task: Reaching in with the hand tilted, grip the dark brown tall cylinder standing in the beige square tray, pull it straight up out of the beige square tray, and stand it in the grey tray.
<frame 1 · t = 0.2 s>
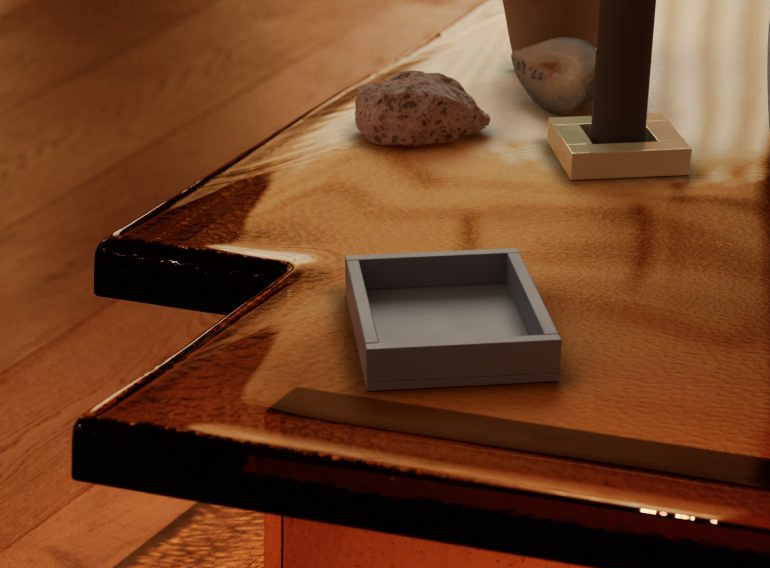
beige square tray: (616, 158, 120), on the table
seashell: (553, 107, 132), on the table
dark brown tall cylinder: (623, 58, 116), in the beige square tray
rock: (415, 132, 127), on the table
grey tray: (446, 335, 93), on the table
flower pot: (551, 70, 142), on the table
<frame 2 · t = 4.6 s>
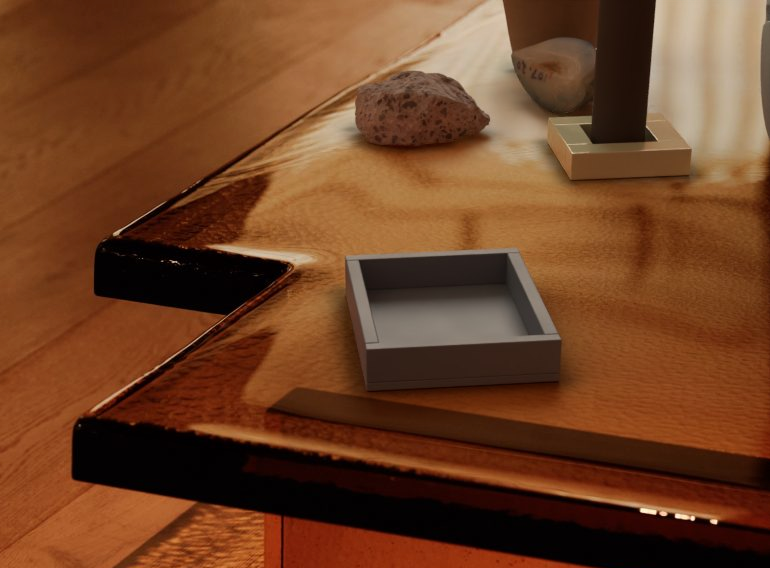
nothing on the table moved.
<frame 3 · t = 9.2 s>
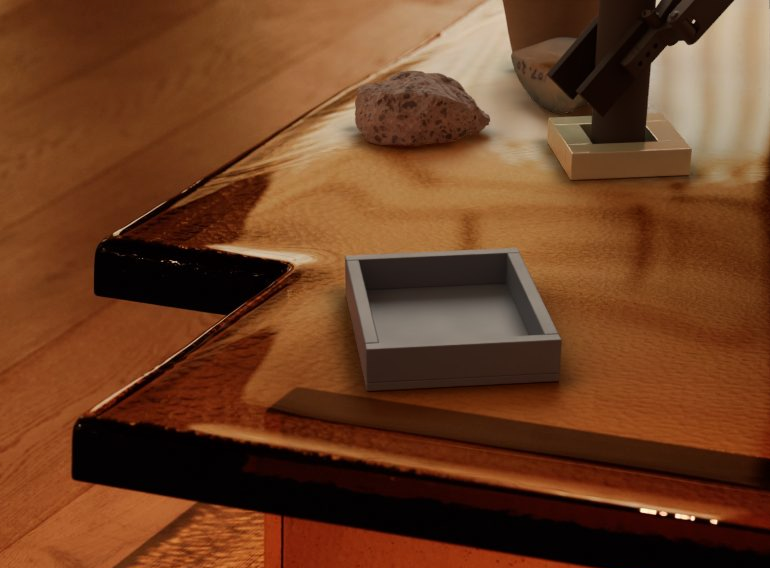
hand: (574, 95, 116), 5 cm above the table, tool tilted 45°, fingers closed on dark brown tall cylinder, 4 cm apart
dark brown tall cylinder: (623, 58, 116), in the beige square tray, touching gripper
everything else where it was.
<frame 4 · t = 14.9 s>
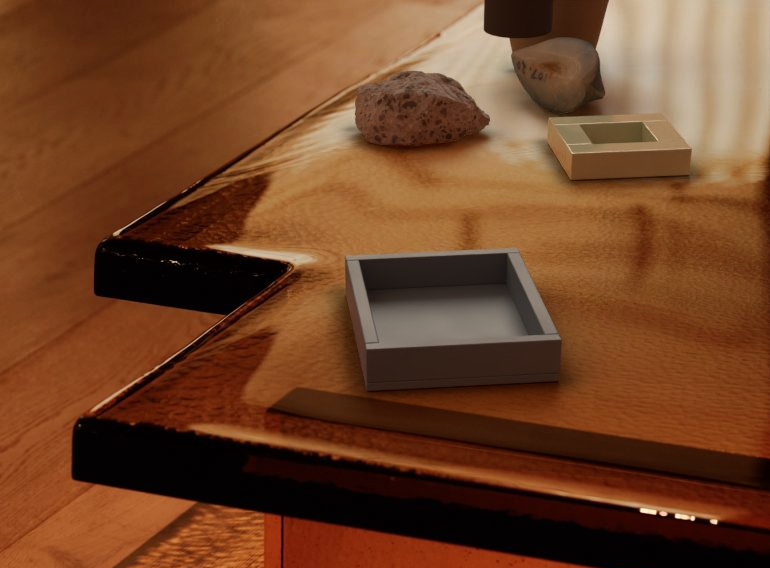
when the fingers open (6 cm above the table, at t = 20.5 s): dark brown tall cylinder stays where it is, resting on grey tray.
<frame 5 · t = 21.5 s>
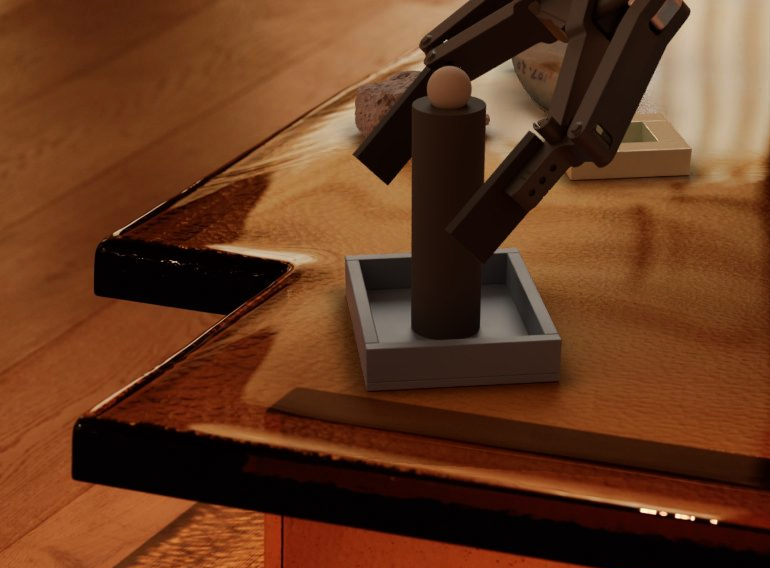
hand: (413, 207, 88), 8 cm above the table, tool tilted 45°, fingers open, 13 cm apart
dark brown tall cylinder: (447, 202, 89), in the grey tray
everything else where it was.
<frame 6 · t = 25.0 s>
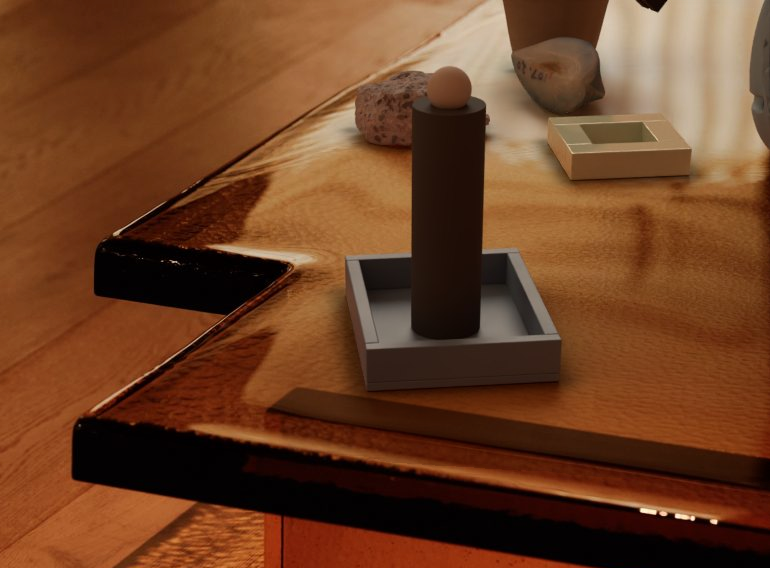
nothing on the table moved.
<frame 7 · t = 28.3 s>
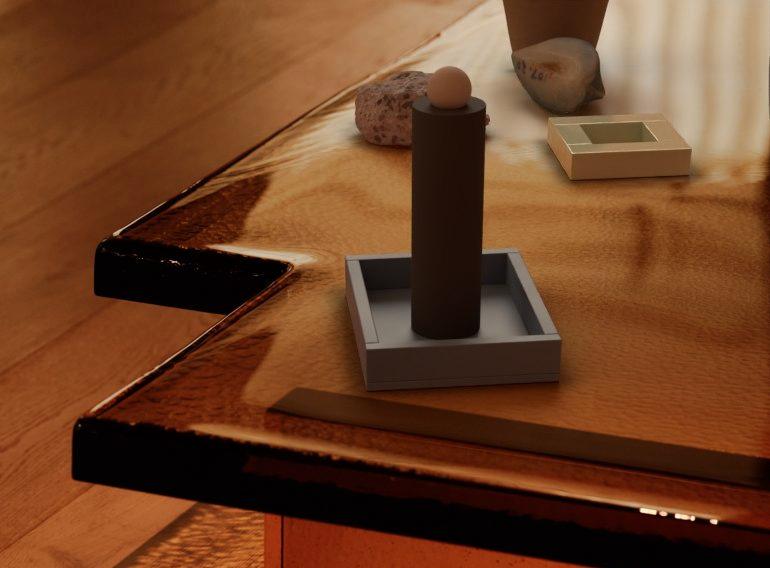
nothing on the table moved.
at the end: dark brown tall cylinder inside the target area in the grey tray (0.1 cm from its centre), point 8.0 cm above the grey tray's base; dark brown tall cylinder moved 34.4 cm from its start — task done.
